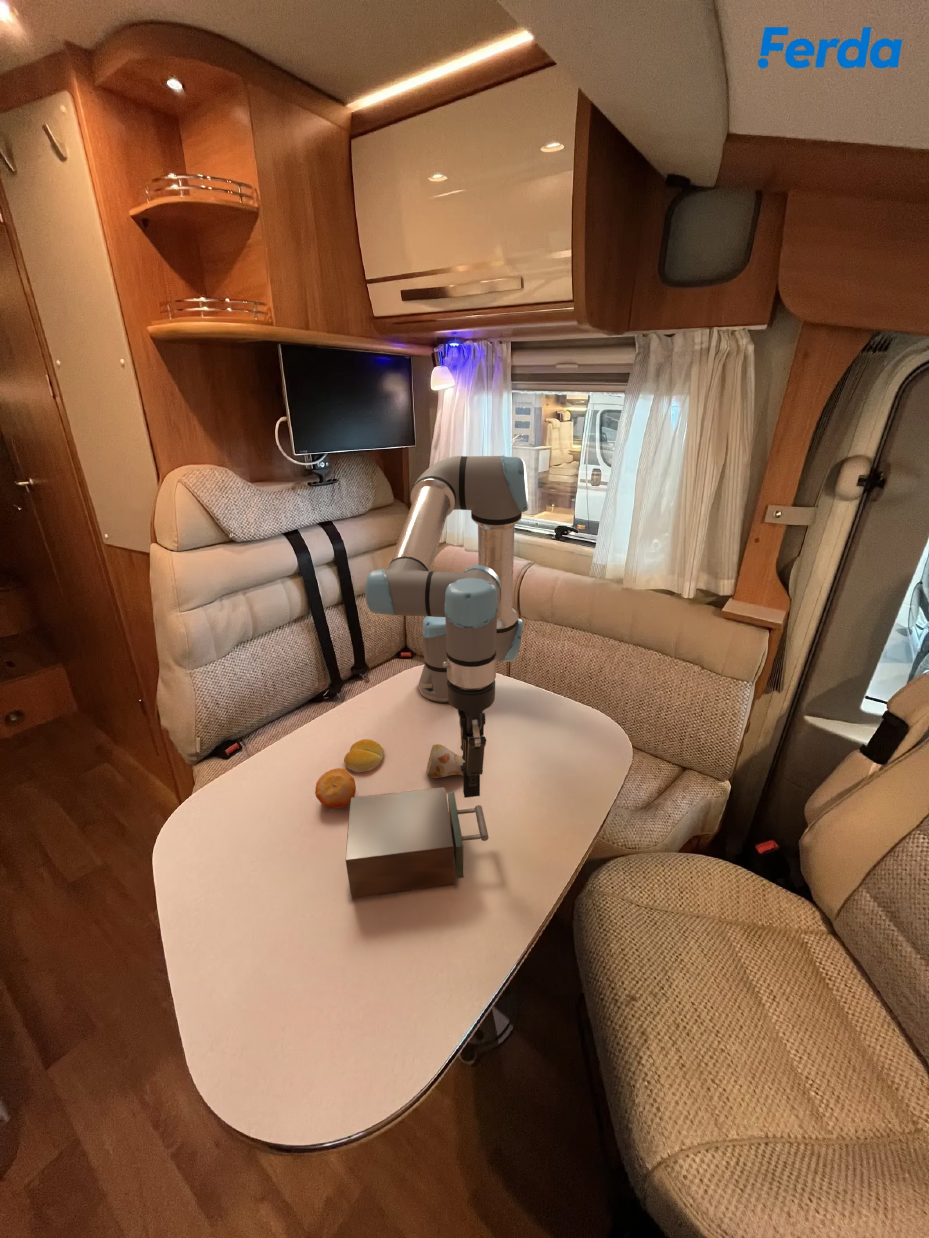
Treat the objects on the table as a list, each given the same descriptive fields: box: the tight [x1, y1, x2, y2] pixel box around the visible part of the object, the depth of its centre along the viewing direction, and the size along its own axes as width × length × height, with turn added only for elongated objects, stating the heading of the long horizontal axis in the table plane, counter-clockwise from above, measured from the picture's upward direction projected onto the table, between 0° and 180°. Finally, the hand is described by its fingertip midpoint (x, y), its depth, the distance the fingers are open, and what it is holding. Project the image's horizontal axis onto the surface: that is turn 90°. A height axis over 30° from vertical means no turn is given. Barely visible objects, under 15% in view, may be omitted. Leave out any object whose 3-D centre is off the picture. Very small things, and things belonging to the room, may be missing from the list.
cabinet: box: [345, 786, 455, 900], centre depth 90 cm, size 18×14×10 cm
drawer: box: [447, 791, 490, 879], centre depth 90 cm, size 21×12×8 cm, turn 98°
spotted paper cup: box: [426, 743, 465, 779], centre depth 110 cm, size 8×10×10 cm
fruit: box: [314, 767, 357, 810], centre depth 104 cm, size 8×8×8 cm
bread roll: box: [343, 738, 384, 773], centre depth 115 cm, size 8×9×4 cm
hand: (471, 793), depth 87 cm, fingers closed
